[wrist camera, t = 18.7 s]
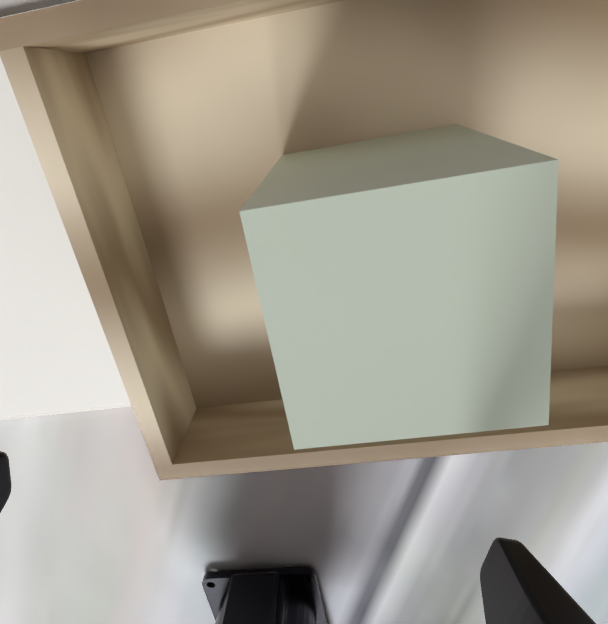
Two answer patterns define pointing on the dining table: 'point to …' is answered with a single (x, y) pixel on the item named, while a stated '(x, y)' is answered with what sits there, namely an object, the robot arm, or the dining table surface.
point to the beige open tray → (260, 160)
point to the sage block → (407, 285)
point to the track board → (43, 293)
